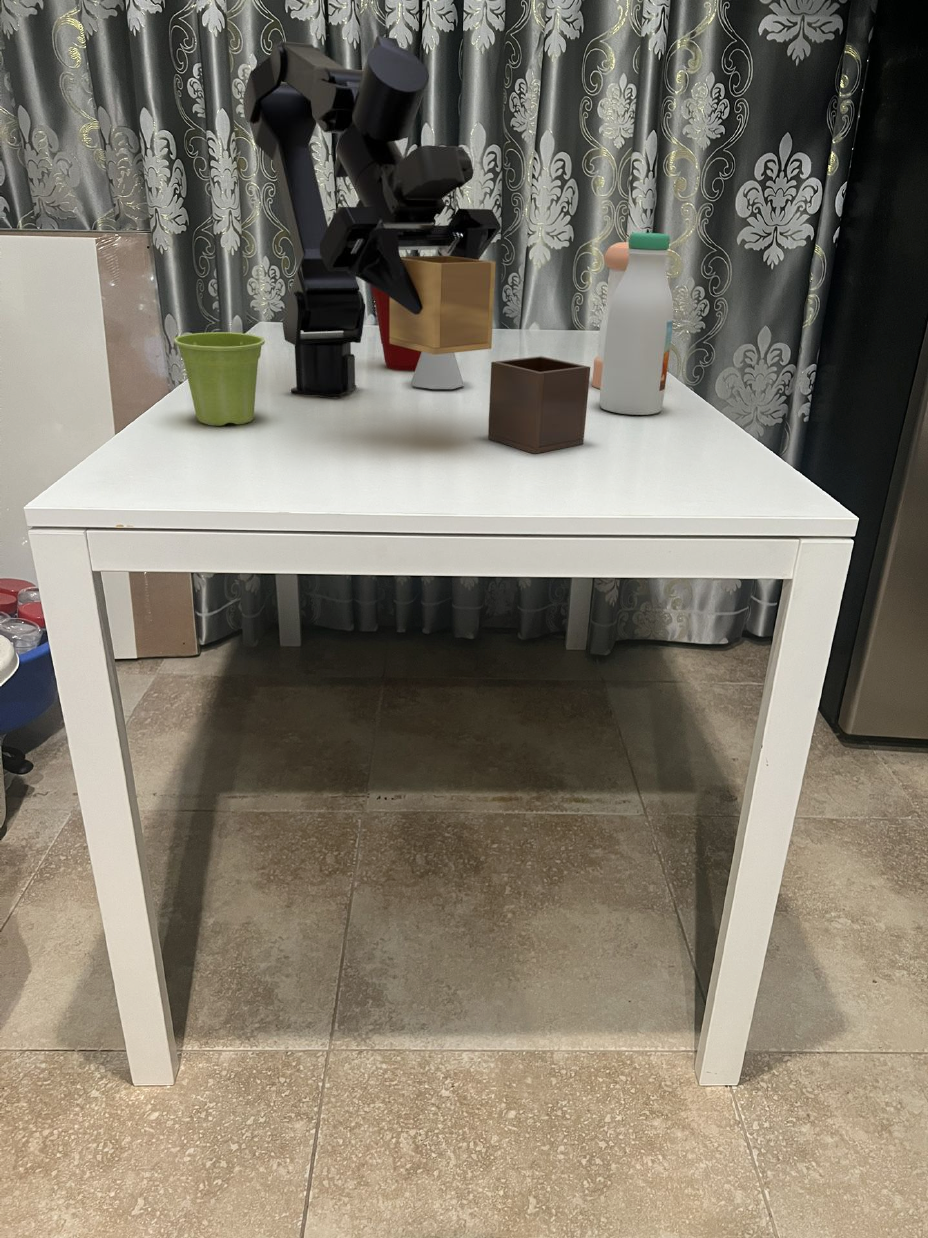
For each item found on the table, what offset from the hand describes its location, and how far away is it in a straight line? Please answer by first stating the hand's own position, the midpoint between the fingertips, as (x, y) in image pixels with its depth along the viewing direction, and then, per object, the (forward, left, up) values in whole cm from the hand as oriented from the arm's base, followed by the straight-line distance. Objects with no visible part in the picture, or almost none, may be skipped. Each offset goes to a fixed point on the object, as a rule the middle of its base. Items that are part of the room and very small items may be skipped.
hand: (449, 309), depth 87 cm
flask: (-10, +30, -14) cm, 34 cm away
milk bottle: (+16, +26, -14) cm, 33 cm away
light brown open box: (-1, +1, -4) cm, 4 cm away
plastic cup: (-18, +41, -14) cm, 46 cm away
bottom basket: (+8, +6, -13) cm, 17 cm away
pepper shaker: (+13, +40, -14) cm, 44 cm away
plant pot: (-26, +2, -14) cm, 29 cm away
